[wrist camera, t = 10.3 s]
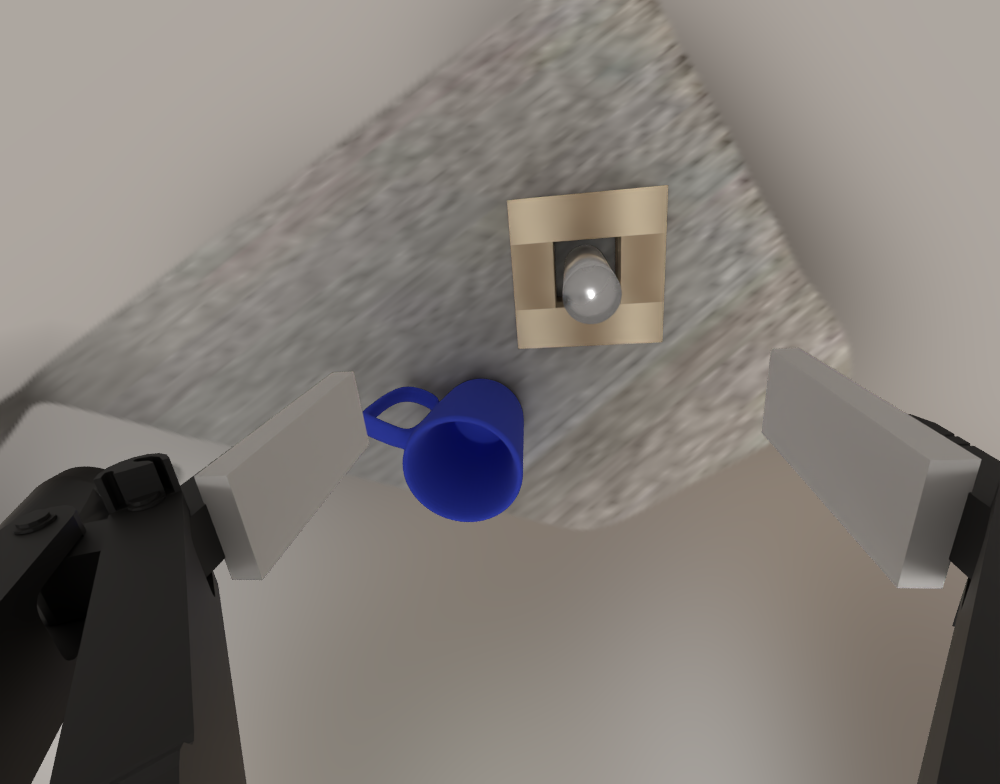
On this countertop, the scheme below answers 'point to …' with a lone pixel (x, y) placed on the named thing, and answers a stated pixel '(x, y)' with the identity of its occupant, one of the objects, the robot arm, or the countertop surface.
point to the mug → (458, 448)
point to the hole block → (637, 264)
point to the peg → (589, 286)
